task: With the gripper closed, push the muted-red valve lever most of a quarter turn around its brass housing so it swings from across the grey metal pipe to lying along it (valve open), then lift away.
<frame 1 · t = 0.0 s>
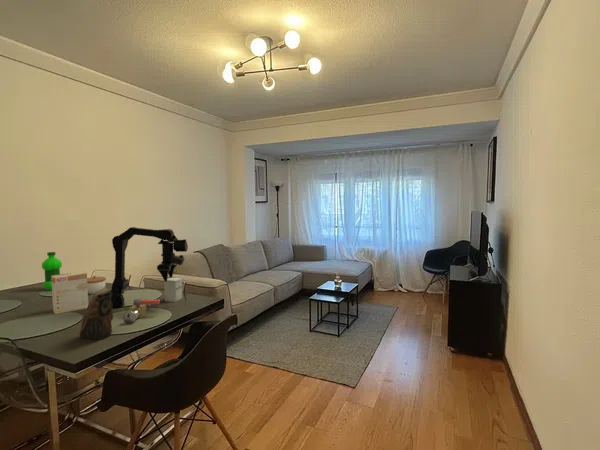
hand: (168, 279, 181), 15 cm above the table, fingers open, 9 cm apart
owl: (97, 335, 140), on the table
coffeecake box: (71, 310, 174), on the table
supplement box: (173, 300, 191), on the table
valve body: (138, 316, 164), on the table
plastic bottle: (53, 289, 215), on the table
lever: (146, 302, 164), point 7 cm above the table, hinge at 0.0°
lidded bowl: (95, 293, 207), on the table
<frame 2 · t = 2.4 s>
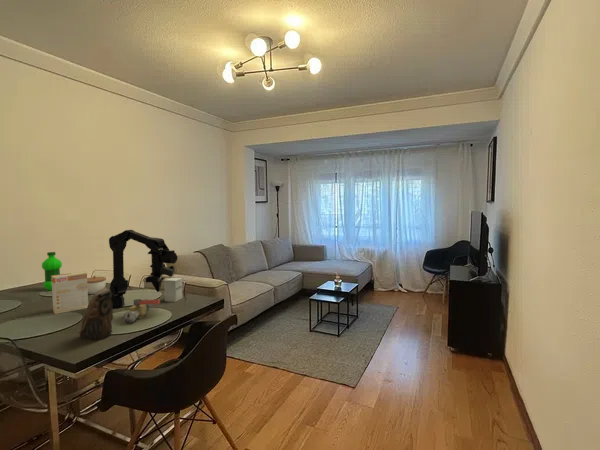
hand: (158, 291, 171), 10 cm above the table, fingers closed
nothing on the table moved.
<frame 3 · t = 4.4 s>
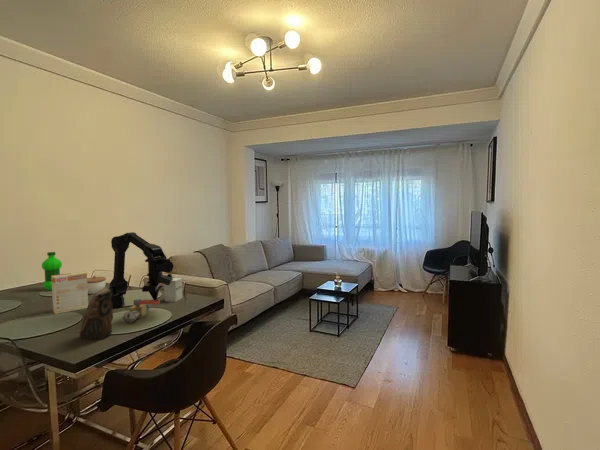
hand: (155, 300, 166), 7 cm above the table, fingers closed
lever: (146, 302, 164), point 7 cm above the table, hinge at 0.0°, touching gripper
everything else where it was.
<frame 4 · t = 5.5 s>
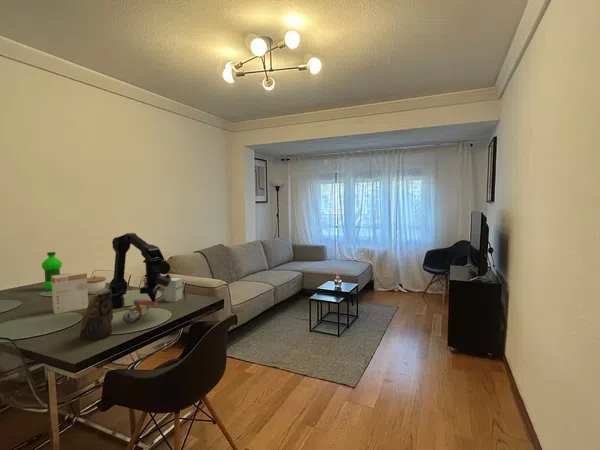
hand: (153, 302, 163), 7 cm above the table, fingers closed, pressing on lever
lever: (145, 302, 162), point 7 cm above the table, hinge at 18.2°, touching gripper
everything else where it was.
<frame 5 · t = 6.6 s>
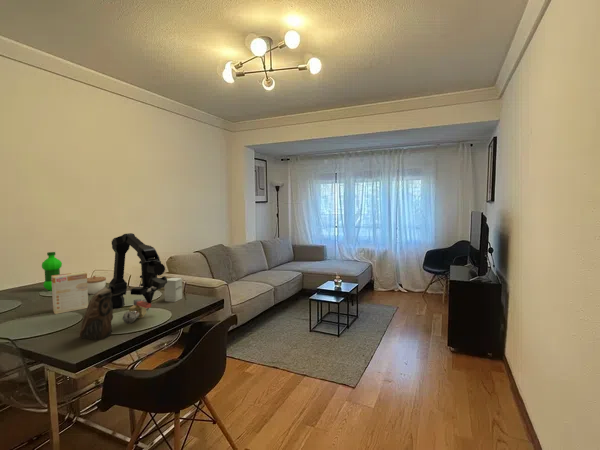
hand: (149, 303, 160), 7 cm above the table, fingers closed
lever: (142, 303, 161), point 7 cm above the table, hinge at 40.6°, touching gripper
everything else where it was.
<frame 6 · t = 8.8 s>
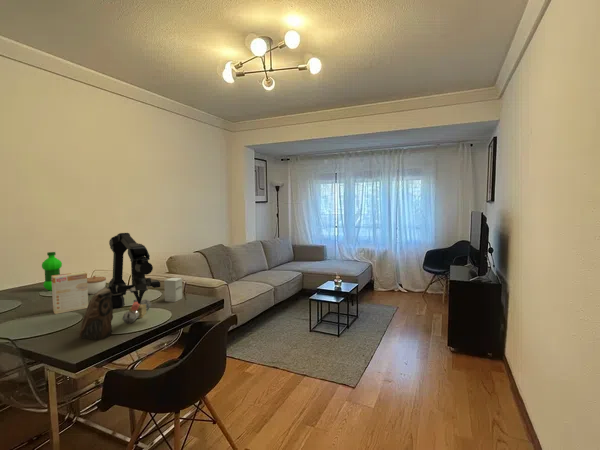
hand: (139, 303, 156), 9 cm above the table, fingers closed
lever: (136, 304, 159), point 7 cm above the table, hinge at 76.5°
everything else where it was.
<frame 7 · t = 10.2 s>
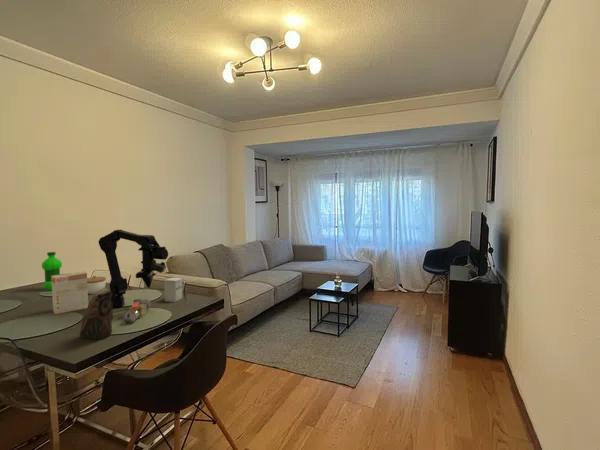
hand: (149, 287, 174), 12 cm above the table, fingers closed
nothing on the table moved.
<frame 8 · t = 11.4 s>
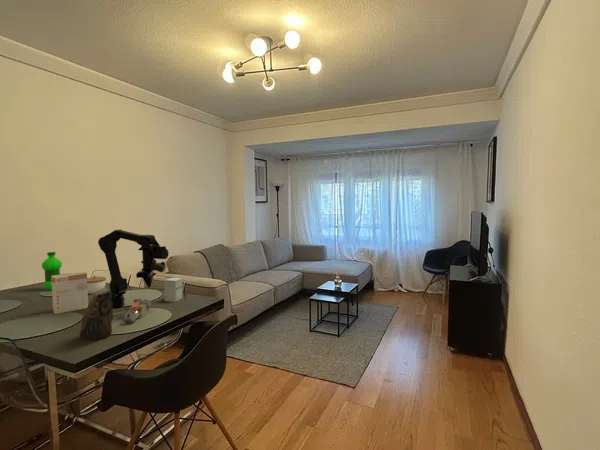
hand: (149, 287, 174), 12 cm above the table, fingers closed
nothing on the table moved.
at the end: lever at +77° (first picture: +0°) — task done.
